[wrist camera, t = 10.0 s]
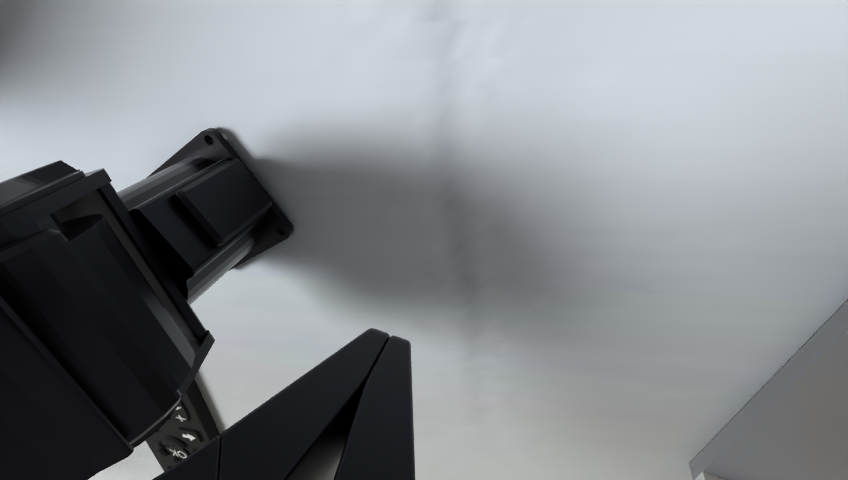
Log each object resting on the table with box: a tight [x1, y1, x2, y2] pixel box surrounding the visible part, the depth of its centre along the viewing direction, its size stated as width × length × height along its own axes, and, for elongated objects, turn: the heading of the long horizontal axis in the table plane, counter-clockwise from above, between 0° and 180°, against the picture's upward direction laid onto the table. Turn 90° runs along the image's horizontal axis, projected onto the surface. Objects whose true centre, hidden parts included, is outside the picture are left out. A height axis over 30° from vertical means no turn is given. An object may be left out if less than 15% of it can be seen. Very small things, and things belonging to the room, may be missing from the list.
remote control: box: [146, 379, 221, 472], centre depth 37 cm, size 8×32×2 cm, turn 4°
